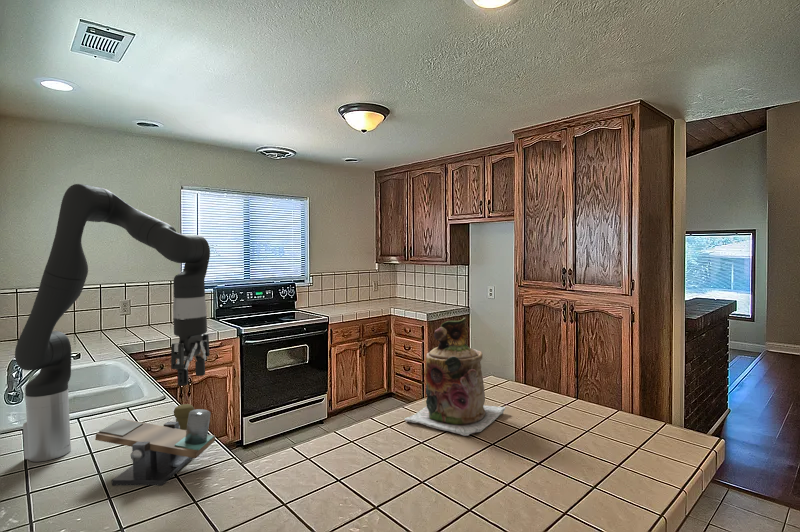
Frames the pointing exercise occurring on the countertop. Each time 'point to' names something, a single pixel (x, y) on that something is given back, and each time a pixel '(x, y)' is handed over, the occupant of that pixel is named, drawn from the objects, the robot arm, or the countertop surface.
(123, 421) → the beam
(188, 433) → the cylinder
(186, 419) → the olive brown waisted cylinder
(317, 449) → the countertop surface
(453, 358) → the cookie jar
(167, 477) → the seesaw stand
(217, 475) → the countertop surface
